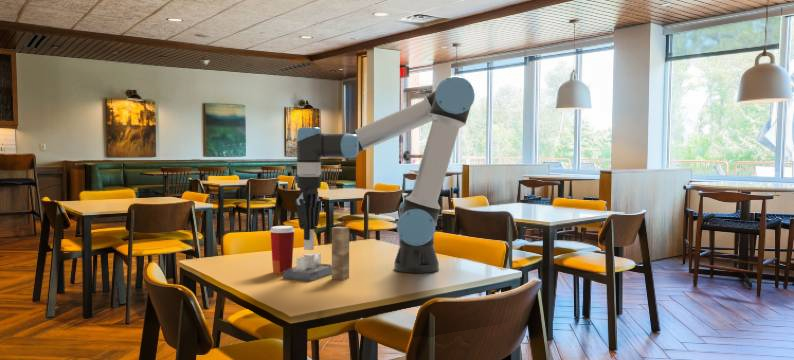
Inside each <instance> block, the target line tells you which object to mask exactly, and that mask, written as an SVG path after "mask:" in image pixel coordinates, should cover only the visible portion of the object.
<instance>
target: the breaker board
mask: <svg viewBox="0 0 794 360" xmlns="http://www.w3.org/2000/svg"><path fill="white" fill-rule="evenodd" d="M310 254H313V255H314V267H313V268H308V267H307V257H304V256H298V257H296V266H292V268H290V269H287V270H283V274H282V275H283V277H282V278H283V279H285V280H295V281H302V282H303V281H305V282H312V281H315V280H319V279H321V278H324V277H327V276H329V275H332V263H331V264H330V263H322V253H316V252H312V253H310Z"/></svg>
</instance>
